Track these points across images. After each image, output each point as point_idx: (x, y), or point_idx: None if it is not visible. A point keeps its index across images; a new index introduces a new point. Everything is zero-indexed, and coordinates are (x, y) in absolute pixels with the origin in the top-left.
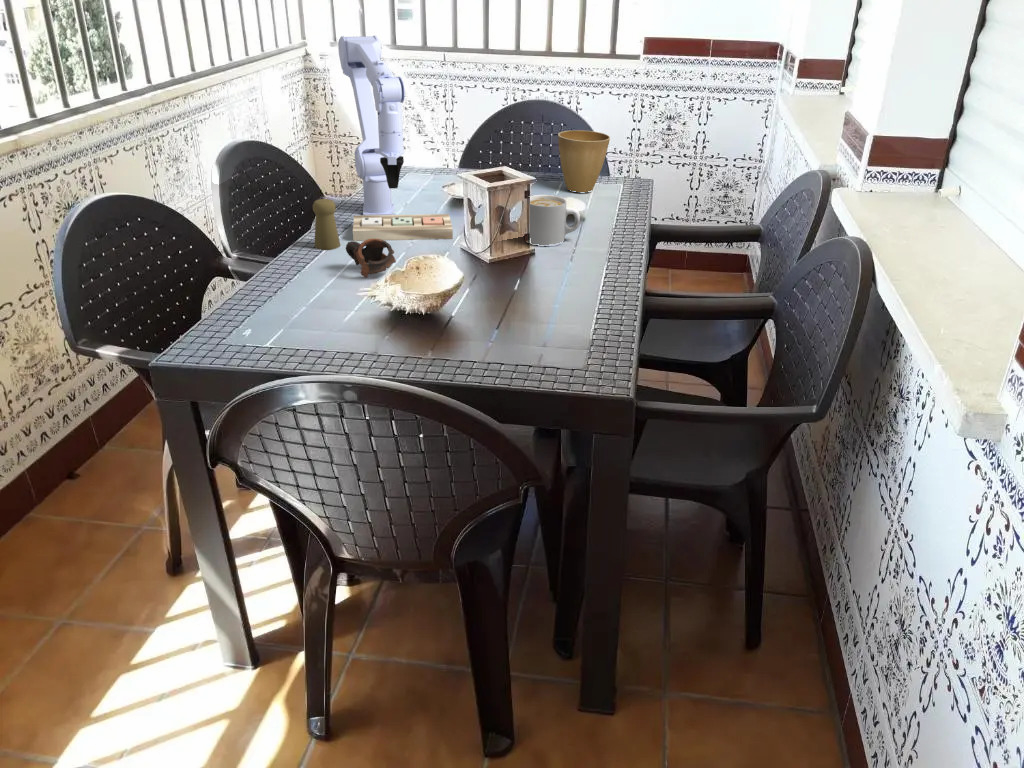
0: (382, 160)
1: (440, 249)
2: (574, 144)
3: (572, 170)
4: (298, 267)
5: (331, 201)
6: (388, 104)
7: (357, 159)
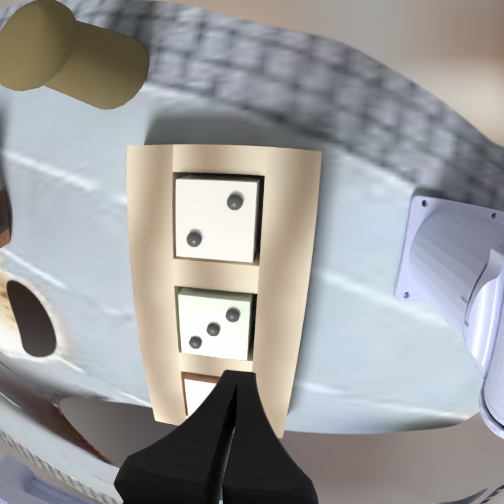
0: (138, 490)
1: (93, 363)
2: None
3: None
4: None
5: (3, 73)
6: None
7: None
